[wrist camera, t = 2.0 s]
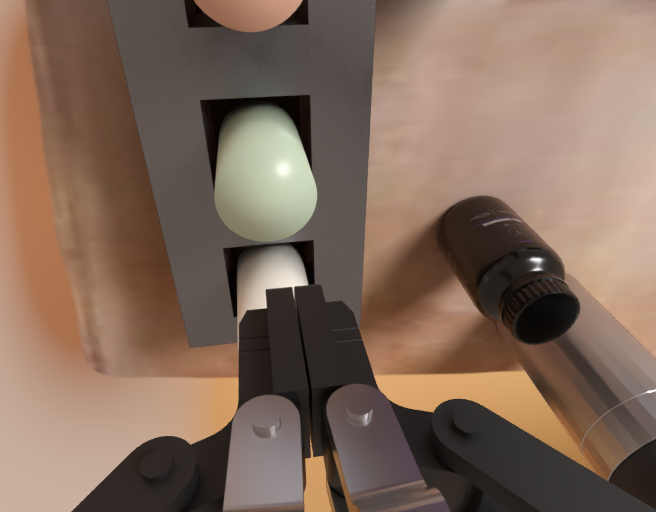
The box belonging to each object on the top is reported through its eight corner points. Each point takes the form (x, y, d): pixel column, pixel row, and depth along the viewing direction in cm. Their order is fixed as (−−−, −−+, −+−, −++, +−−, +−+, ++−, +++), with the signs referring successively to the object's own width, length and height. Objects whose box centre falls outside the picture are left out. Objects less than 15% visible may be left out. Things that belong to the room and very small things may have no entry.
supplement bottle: (489, 176, 37) (579, 258, 28) (521, 229, 41) (611, 318, 31) (419, 226, 39) (481, 321, 29) (456, 273, 43) (522, 371, 33)
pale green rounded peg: (299, 173, 30) (317, 237, 23) (224, 178, 29) (221, 246, 23) (296, 97, 27) (316, 146, 21) (213, 102, 26) (206, 153, 20)
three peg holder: (345, 282, 41) (360, 327, 36) (195, 297, 39) (189, 348, 34) (355, -173, 24) (386, -203, 19) (94, -181, 22) (55, -217, 17)
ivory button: (304, 288, 35) (320, 367, 29) (240, 295, 34) (242, 377, 28) (302, 235, 32) (319, 308, 26) (233, 241, 32) (232, 317, 25)
